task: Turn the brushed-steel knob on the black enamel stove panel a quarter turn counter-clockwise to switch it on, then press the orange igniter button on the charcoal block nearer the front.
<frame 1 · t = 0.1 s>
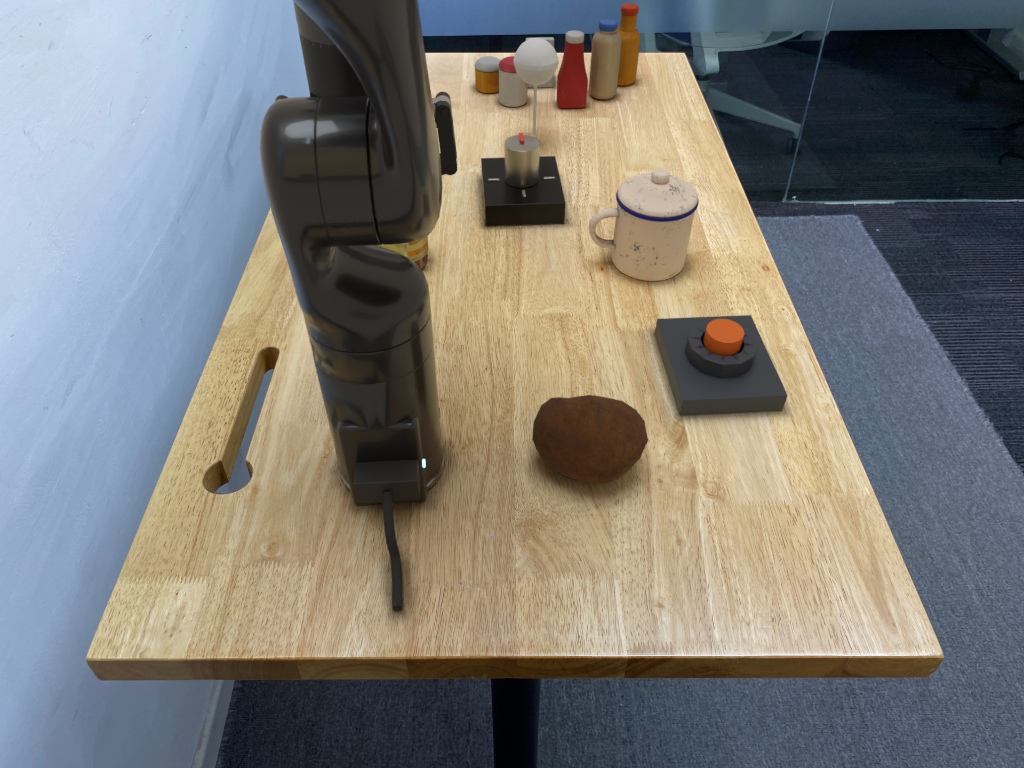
hand: (377, 217, 67), 17 cm above the table, tool pointing down, fingers open, 8 cm apart
igniter: (714, 371, 78), on the table
igniter button: (723, 337, 75), point 5 cm above the table, slide at 0.2 cm
potato: (586, 468, 69), on the table
stove panel: (521, 200, 101), on the table
stove knob: (521, 160, 97), point 6 cm above the table, hinge at 0.0°
sauce bottle: (403, 263, 91), on the table
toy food: (557, 93, 125), on the table
teacup with lid: (635, 263, 92), on the table
lollipop: (533, 146, 112), on the table
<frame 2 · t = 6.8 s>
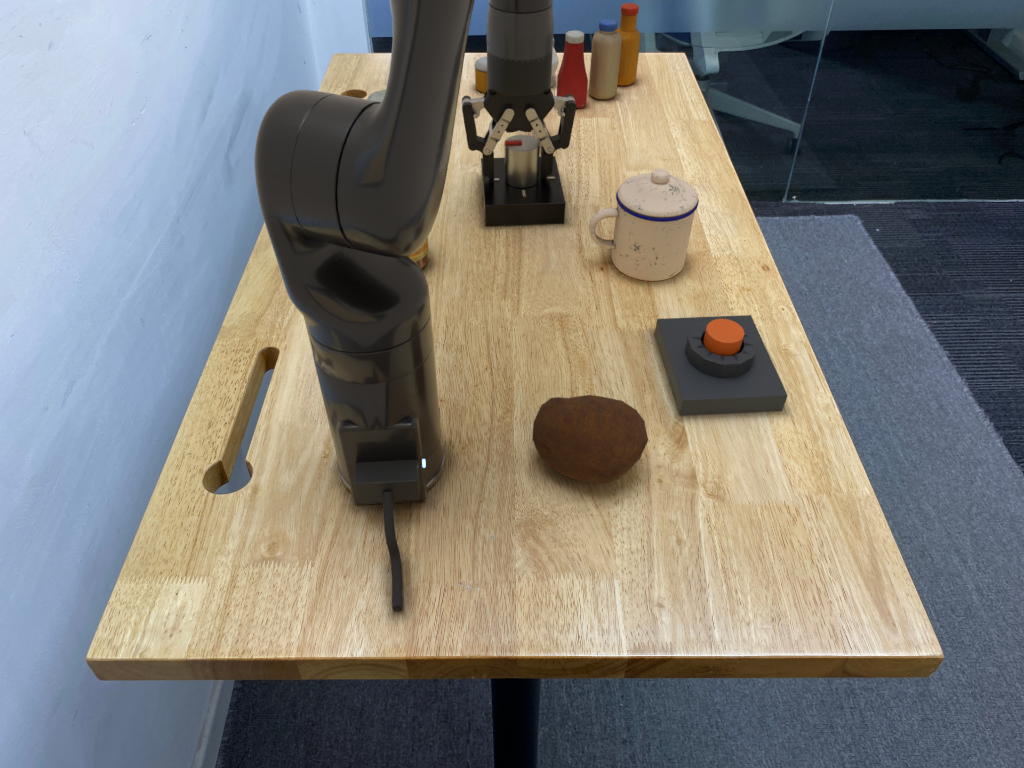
hand: (517, 176, 99), 3 cm above the table, tool pointing down, fingers open, 6 cm apart
stove knob: (521, 160, 97), point 6 cm above the table, hinge at 92.9°
everything else where it was.
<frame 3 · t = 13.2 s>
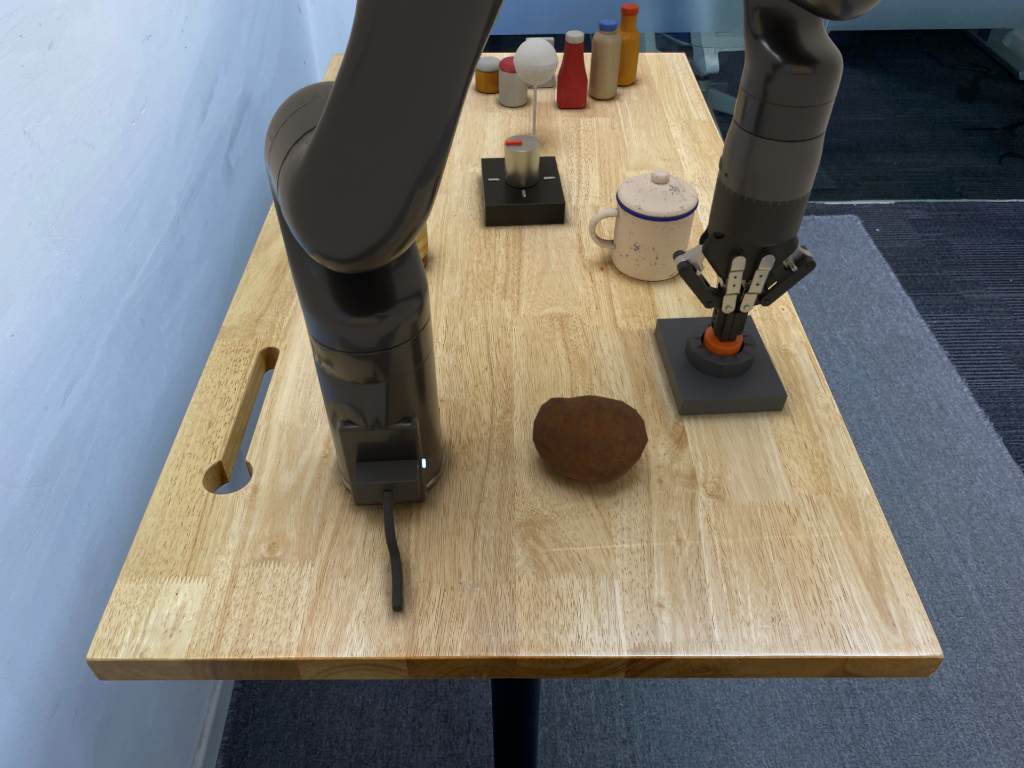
hand: (724, 335, 75), 5 cm above the table, tool pointing down, fingers closed
igniter button: (722, 342, 75), point 4 cm above the table, slide at -0.6 cm, touching gripper
everything else where it was.
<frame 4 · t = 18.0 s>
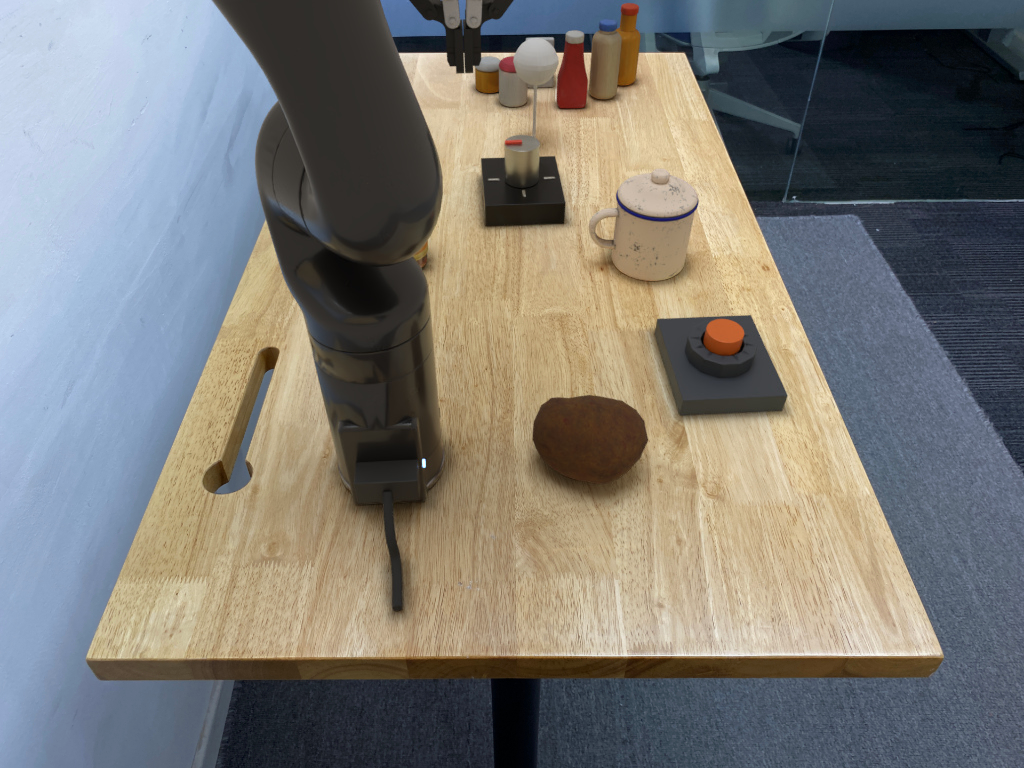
hand: (464, 69, 65), 27 cm above the table, tool pointing down, fingers closed
igniter button: (723, 337, 75), point 5 cm above the table, slide at 0.2 cm
everything else where it was.
at the end: stove knob at +93° (first picture: +0°); igniter button pushed in 1.1 cm at the most during the clip, back to 0.2 cm at the end; igniter button slide at 0.2 cm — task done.
